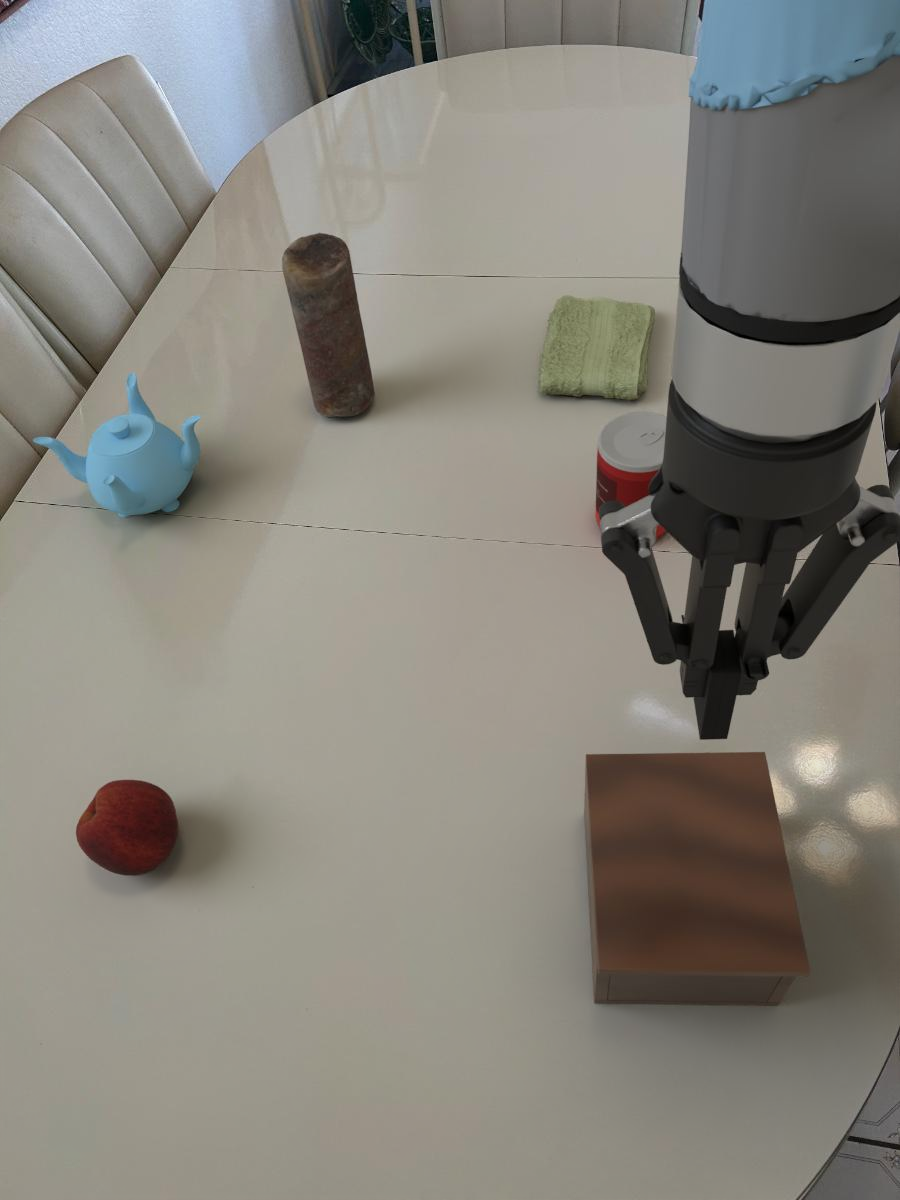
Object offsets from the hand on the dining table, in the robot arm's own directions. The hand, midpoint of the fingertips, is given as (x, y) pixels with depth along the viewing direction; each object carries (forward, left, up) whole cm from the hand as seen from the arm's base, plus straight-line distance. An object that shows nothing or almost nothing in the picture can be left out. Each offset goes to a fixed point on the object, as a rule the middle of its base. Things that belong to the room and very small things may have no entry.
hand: (710, 718), depth 53 cm
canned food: (+21, -32, -24) cm, 45 cm away
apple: (+37, +21, -24) cm, 49 cm away
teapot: (+69, -8, -24) cm, 74 cm away
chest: (-1, +1, -24) cm, 24 cm away
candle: (+59, -31, -24) cm, 71 cm away
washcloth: (+38, -53, -24) cm, 69 cm away
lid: (-1, +2, -15) cm, 15 cm away
